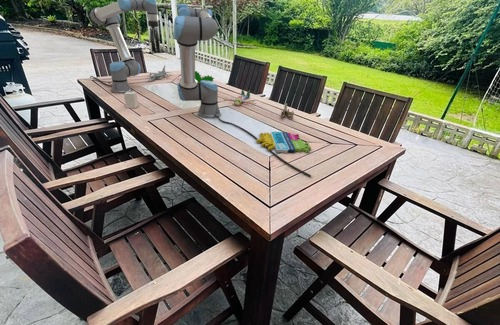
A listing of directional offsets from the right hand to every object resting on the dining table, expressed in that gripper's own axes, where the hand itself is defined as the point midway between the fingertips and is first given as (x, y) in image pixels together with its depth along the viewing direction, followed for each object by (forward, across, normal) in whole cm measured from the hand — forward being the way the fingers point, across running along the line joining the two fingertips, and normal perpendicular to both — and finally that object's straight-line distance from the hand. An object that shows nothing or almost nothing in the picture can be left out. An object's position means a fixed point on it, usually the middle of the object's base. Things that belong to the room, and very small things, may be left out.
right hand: (185, 61), depth 196 cm
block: (+31, +19, -37) cm, 52 cm away
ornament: (+31, -45, +6) cm, 56 cm away
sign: (+31, +72, +67) cm, 103 cm away
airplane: (+32, -78, -44) cm, 95 cm away
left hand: (-3, -19, -27) cm, 33 cm away
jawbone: (+31, +25, +76) cm, 86 cm away
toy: (+31, -8, +44) cm, 54 cm away
